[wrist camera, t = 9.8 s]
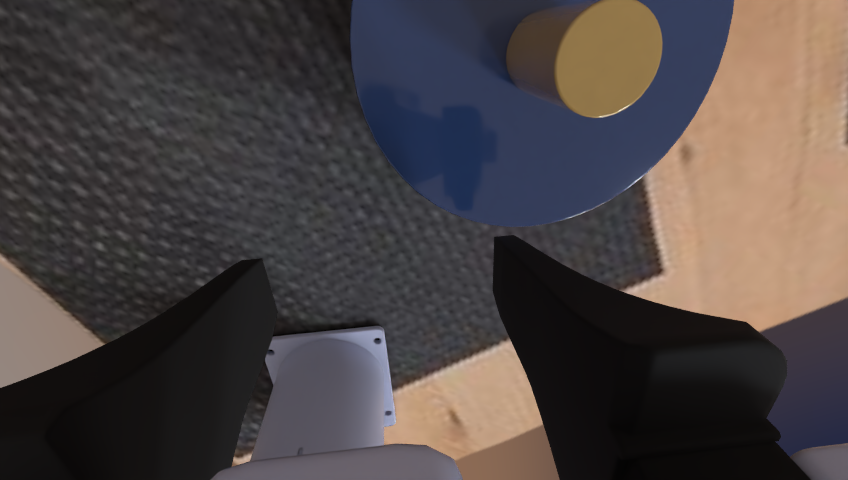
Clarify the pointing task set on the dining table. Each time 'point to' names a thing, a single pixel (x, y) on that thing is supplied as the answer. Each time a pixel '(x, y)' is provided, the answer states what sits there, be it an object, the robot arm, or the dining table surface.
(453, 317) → the dining table surface
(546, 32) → the lid
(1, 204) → the dining table surface
